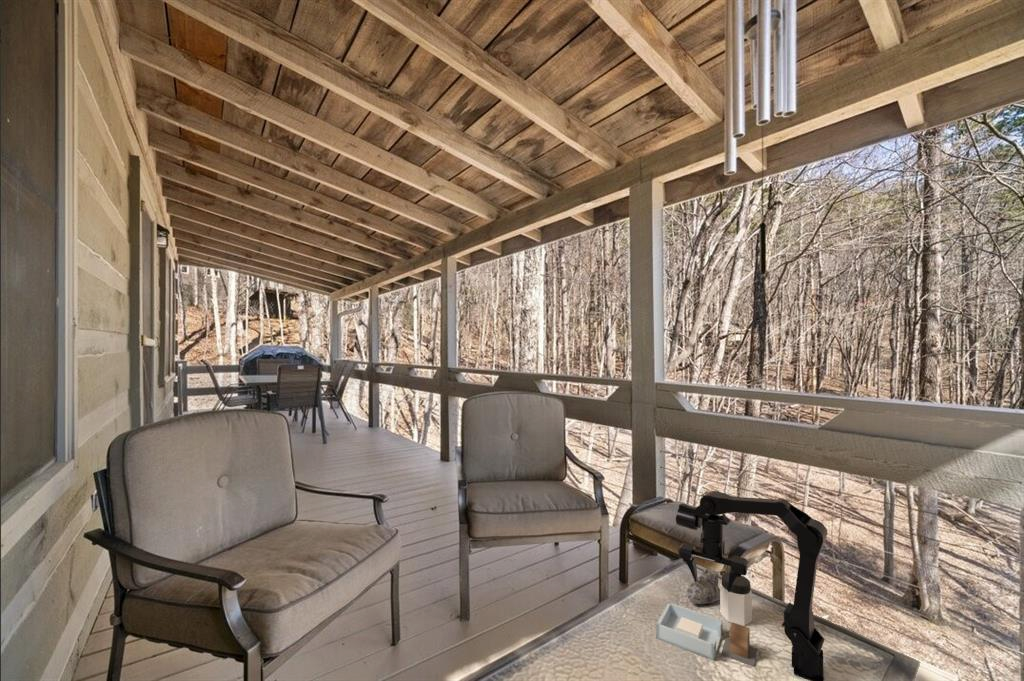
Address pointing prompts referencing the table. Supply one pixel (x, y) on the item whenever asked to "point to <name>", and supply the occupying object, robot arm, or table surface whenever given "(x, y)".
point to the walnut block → (739, 640)
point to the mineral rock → (704, 588)
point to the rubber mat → (748, 661)
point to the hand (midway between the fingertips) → (712, 586)
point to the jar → (736, 600)
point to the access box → (690, 630)
